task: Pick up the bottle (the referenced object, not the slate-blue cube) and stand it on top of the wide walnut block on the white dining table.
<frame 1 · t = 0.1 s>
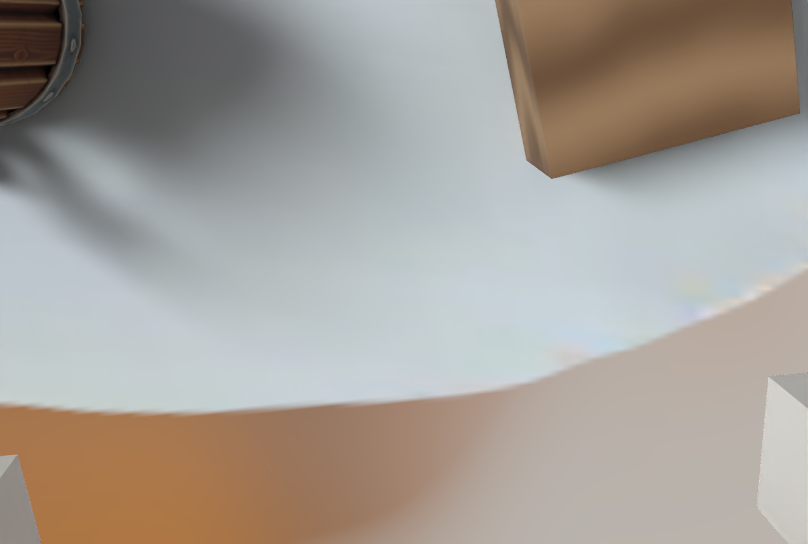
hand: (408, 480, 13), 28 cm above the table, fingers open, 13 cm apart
walnut block: (619, 15, 38), on the table
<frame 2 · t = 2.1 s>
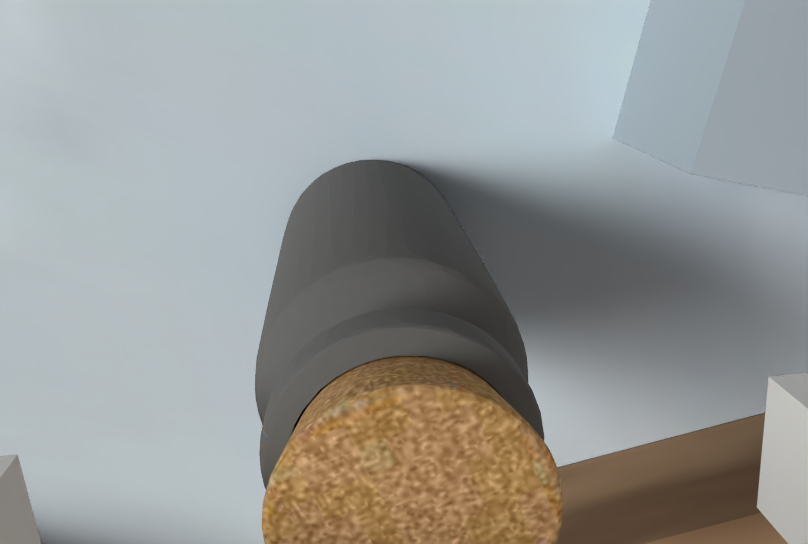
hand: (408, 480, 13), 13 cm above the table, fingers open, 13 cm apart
bottle: (371, 241, 26), on the table
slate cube: (722, 63, 25), on the table
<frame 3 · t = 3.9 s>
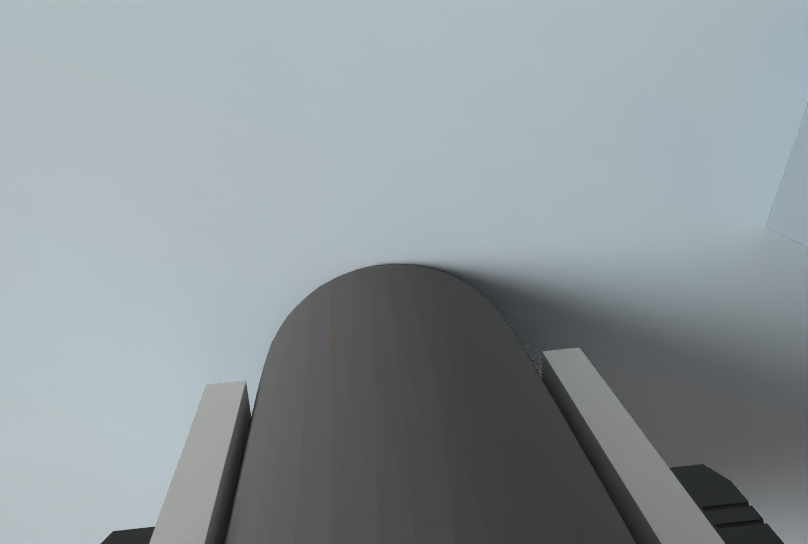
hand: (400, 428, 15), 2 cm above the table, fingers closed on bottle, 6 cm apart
bottle: (393, 381, 17), on the table, touching gripper
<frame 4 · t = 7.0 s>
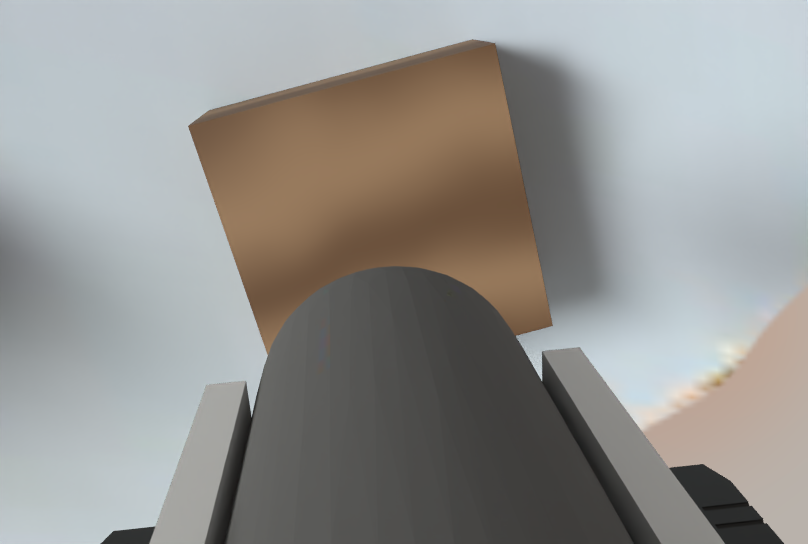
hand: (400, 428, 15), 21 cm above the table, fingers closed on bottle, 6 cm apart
bottle: (393, 383, 17), point 19 cm above the table, touching gripper
walnut block: (375, 203, 35), on the table
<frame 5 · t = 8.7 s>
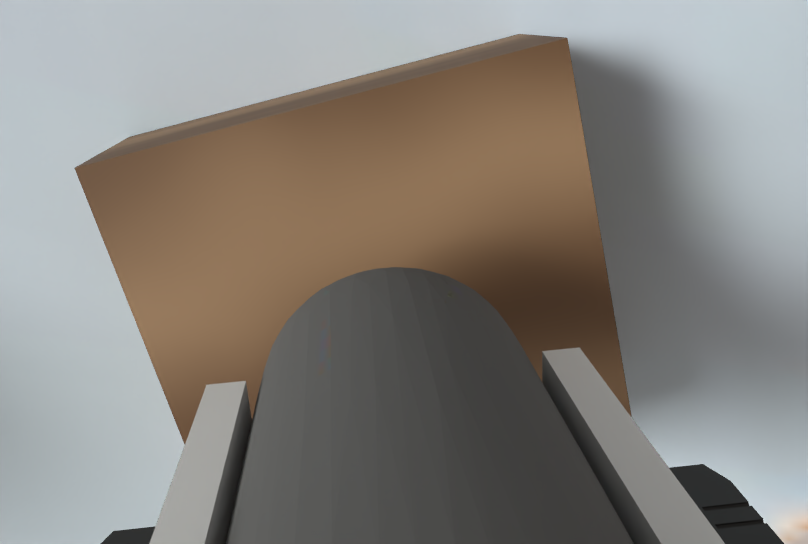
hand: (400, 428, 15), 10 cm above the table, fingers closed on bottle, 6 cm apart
bottle: (393, 384, 17), point 8 cm above the table, touching gripper
walnut block: (375, 270, 25), on the table
when the fingers open (7 cm above the table, at t = 10.4 s): bottle stays where it is, resting on walnut block.
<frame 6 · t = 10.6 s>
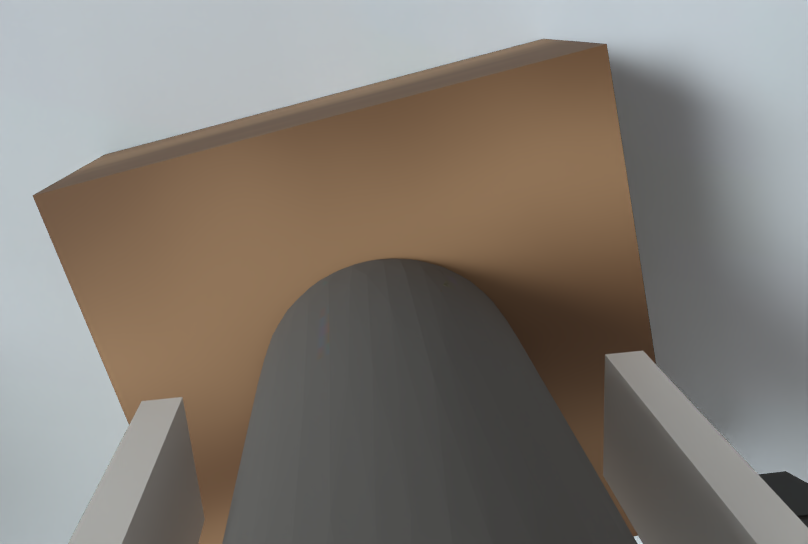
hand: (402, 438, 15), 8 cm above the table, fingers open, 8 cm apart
bottle: (391, 374, 17), point 5 cm above the table, touching walnut block
walnut block: (380, 301, 22), on the table
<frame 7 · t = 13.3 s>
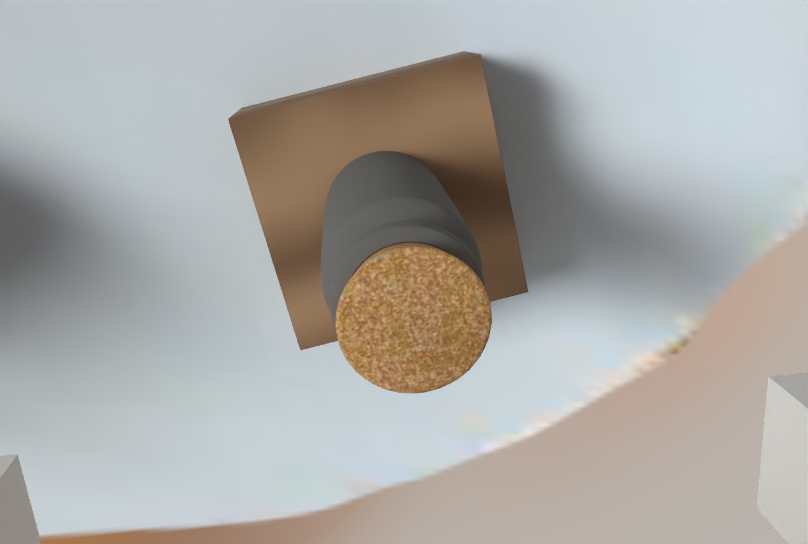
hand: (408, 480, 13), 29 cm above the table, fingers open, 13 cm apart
bottle: (385, 208, 37), point 5 cm above the table, touching walnut block
walnut block: (380, 189, 42), on the table
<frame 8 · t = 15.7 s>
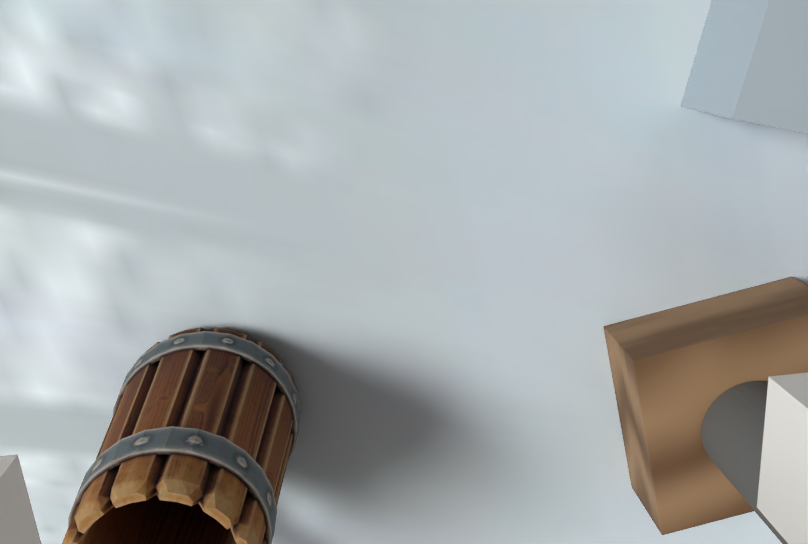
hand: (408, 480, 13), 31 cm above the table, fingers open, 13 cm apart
bottle: (746, 423, 44), point 5 cm above the table, touching walnut block
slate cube: (745, 62, 43), on the table
walnut block: (708, 386, 49), on the table
mug: (205, 436, 47), on the table
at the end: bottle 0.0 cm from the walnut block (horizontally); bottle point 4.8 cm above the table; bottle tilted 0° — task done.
